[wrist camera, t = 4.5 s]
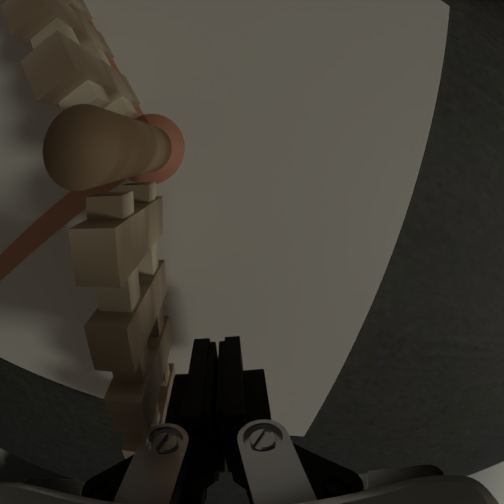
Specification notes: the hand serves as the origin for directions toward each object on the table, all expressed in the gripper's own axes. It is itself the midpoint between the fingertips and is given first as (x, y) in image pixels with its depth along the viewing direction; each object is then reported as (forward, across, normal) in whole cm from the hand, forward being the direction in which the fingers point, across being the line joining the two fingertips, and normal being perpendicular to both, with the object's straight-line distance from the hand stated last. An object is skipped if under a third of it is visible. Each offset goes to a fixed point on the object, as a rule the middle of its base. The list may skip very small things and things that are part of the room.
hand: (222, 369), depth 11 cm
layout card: (+3, +3, -8) cm, 9 cm away
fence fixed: (+3, +5, -14) cm, 15 cm away
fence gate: (+2, +3, -1) cm, 4 cm away
